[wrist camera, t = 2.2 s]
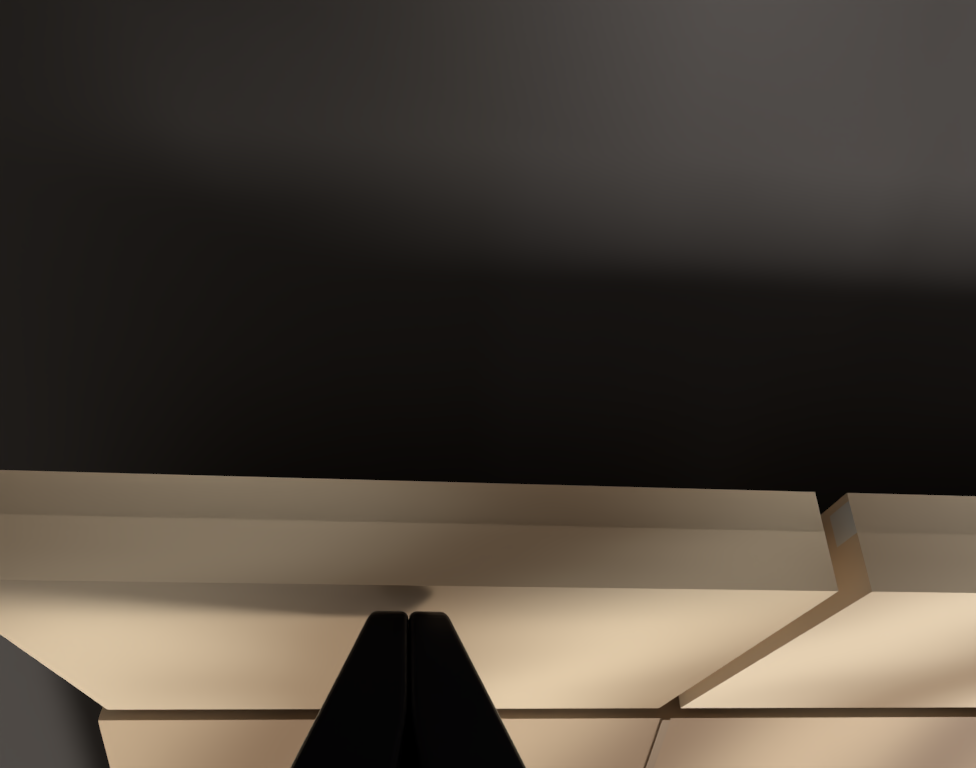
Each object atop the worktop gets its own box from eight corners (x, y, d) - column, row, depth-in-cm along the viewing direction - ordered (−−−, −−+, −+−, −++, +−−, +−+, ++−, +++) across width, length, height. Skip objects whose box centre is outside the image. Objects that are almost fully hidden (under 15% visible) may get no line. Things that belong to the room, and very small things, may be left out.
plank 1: (815, 491, 10) (838, 590, 10) (651, 641, 16) (658, 708, 16) (-43, 469, 9) (-79, 578, 8) (121, 637, 15) (106, 709, 14)
